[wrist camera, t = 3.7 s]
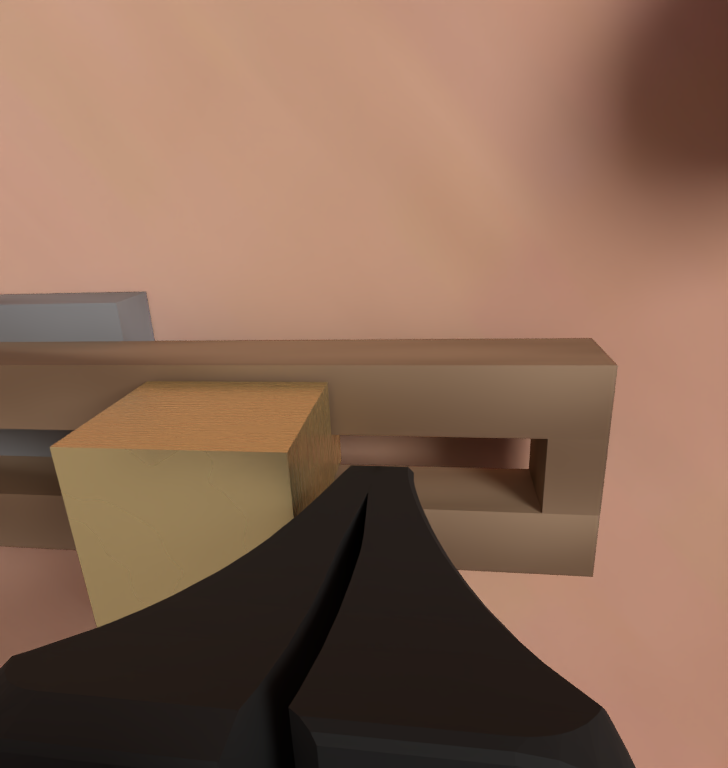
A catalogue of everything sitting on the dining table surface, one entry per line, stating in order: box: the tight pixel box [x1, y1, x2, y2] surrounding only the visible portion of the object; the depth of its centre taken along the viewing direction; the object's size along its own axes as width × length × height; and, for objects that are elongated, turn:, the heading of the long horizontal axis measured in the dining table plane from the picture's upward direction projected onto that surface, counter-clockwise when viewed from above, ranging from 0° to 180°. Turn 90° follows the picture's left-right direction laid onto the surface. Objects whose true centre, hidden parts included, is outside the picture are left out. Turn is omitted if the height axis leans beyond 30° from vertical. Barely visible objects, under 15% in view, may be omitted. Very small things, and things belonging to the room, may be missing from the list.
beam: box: [0, 292, 618, 577], centre depth 14 cm, size 7×28×6 cm, turn 93°
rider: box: [50, 381, 341, 628], centre depth 12 cm, size 4×4×5 cm
